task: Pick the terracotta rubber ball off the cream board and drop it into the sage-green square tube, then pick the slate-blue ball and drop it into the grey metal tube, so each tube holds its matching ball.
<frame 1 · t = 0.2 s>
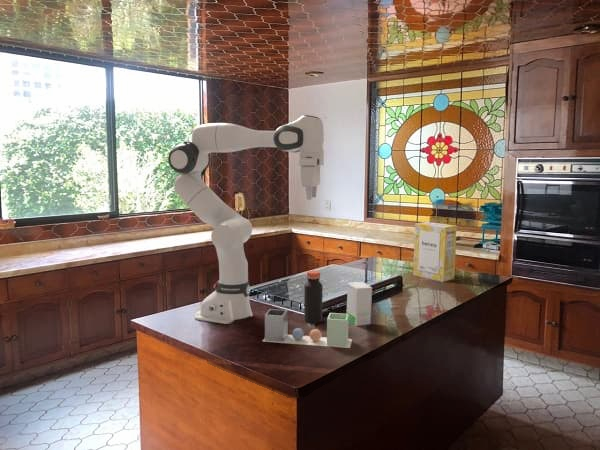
hand: (311, 198, 175), 47 cm above the table, fingers open, 8 cm apart
tube grey: (276, 337, 162), resting on board
ball slate: (297, 339, 161), point 1 cm above the table, touching board
pasta box: (433, 277, 251), on the table
bottle: (313, 323, 180), on the table
board: (307, 343, 160), on the table
ball terracotta: (315, 340, 160), point 1 cm above the table, touching board
tube sage: (337, 342, 158), resting on board
skincare box: (358, 325, 179), on the table
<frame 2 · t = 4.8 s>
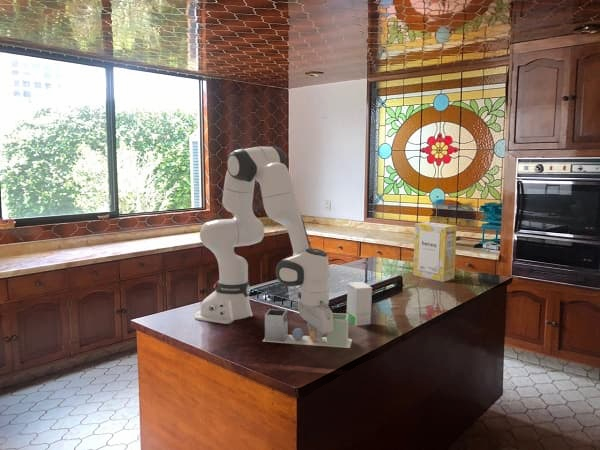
hand: (315, 337, 160), 2 cm above the table, fingers closed on ball terracotta, 4 cm apart
ball terracotta: (315, 340, 160), point 1 cm above the table, touching board, gripper
everything else where it was.
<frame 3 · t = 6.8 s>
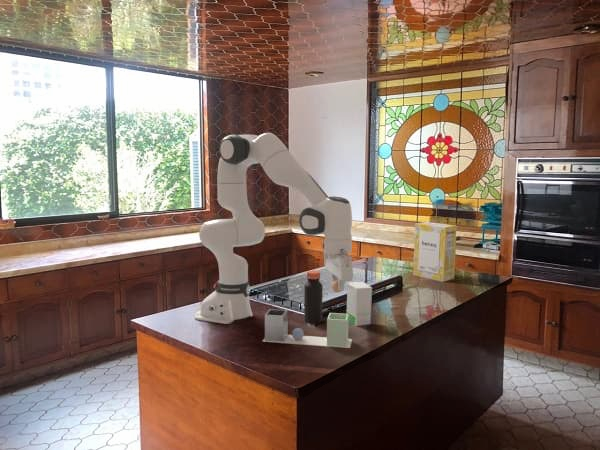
hand: (337, 288, 156), 20 cm above the table, fingers closed on ball terracotta, 4 cm apart
ball terracotta: (338, 292, 156), point 19 cm above the table, touching gripper
everything else where it was.
when the fingers open (11 cm above the table, at t = 8.7 s): ball terracotta drops 8 cm, resting on board.
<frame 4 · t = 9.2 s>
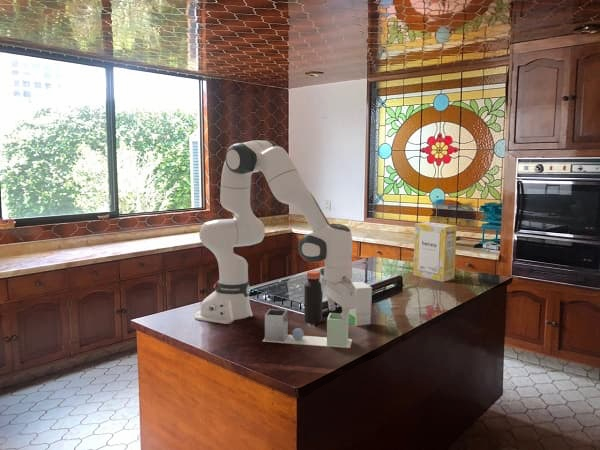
hand: (337, 314, 157), 11 cm above the table, fingers open, 8 cm apart
ball terracotta: (337, 342, 158), point 1 cm above the table, tilted 5°, touching board
everything else where it was.
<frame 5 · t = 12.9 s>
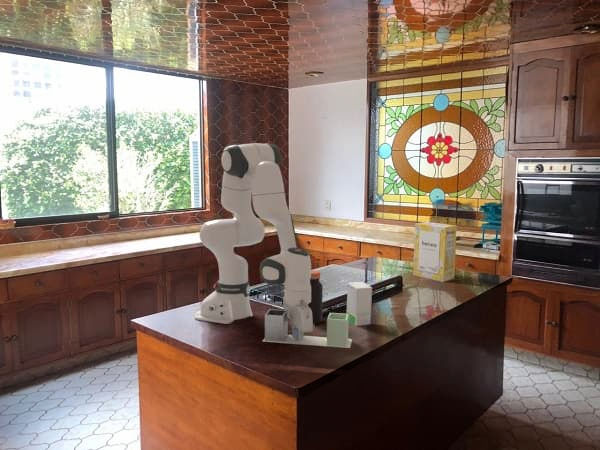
hand: (297, 336, 161), 2 cm above the table, fingers closed on ball slate, 4 cm apart
ball slate: (297, 339, 161), point 1 cm above the table, touching board, gripper
ball terracotta: (337, 342, 158), point 1 cm above the table, tilted 17°, touching board
everything else where it was.
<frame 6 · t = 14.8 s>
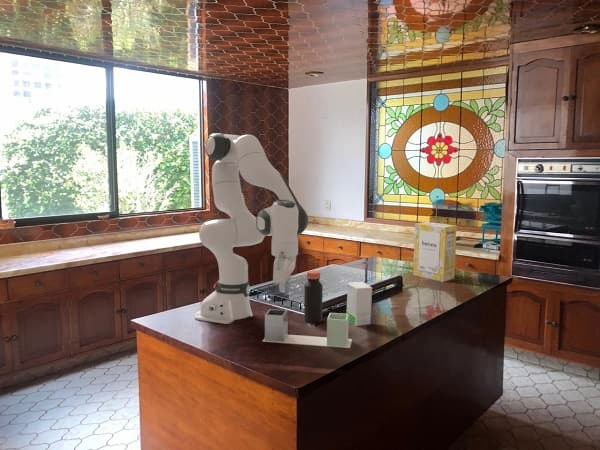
hand: (284, 289, 160), 18 cm above the table, fingers closed on ball slate, 4 cm apart
ball slate: (284, 292, 160), point 17 cm above the table, touching gripper
everything else where it was.
when the fingers open (11 cm above the table, at t = 16.9 s): ball slate drops 8 cm, resting on board.
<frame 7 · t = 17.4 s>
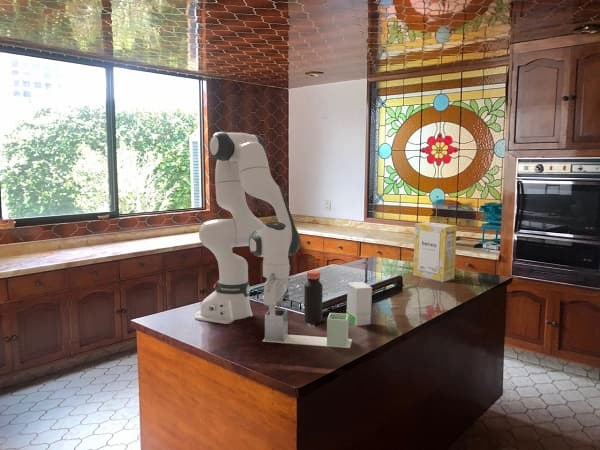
hand: (276, 310, 161), 11 cm above the table, fingers open, 8 cm apart
ball slate: (276, 337, 162), point 1 cm above the table, tilted 5°, touching board
everything else where it was.
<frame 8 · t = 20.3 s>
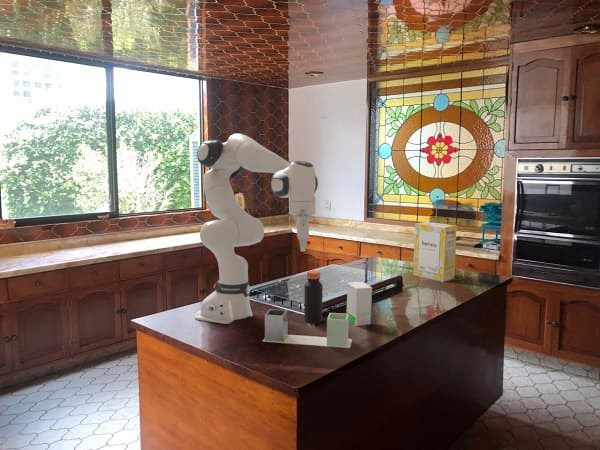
hand: (302, 248, 164), 31 cm above the table, fingers open, 8 cm apart
ball slate: (276, 337, 162), point 1 cm above the table, tilted 16°, touching board
everything else where it was.
at the end: ball terracotta 0.0 cm off-centre on the tube sage, point 0.1 cm above the tube sage's base; ball slate 0.0 cm off-centre on the tube grey, point 0.1 cm above the tube grey's base; the gripper is holding nothing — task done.
